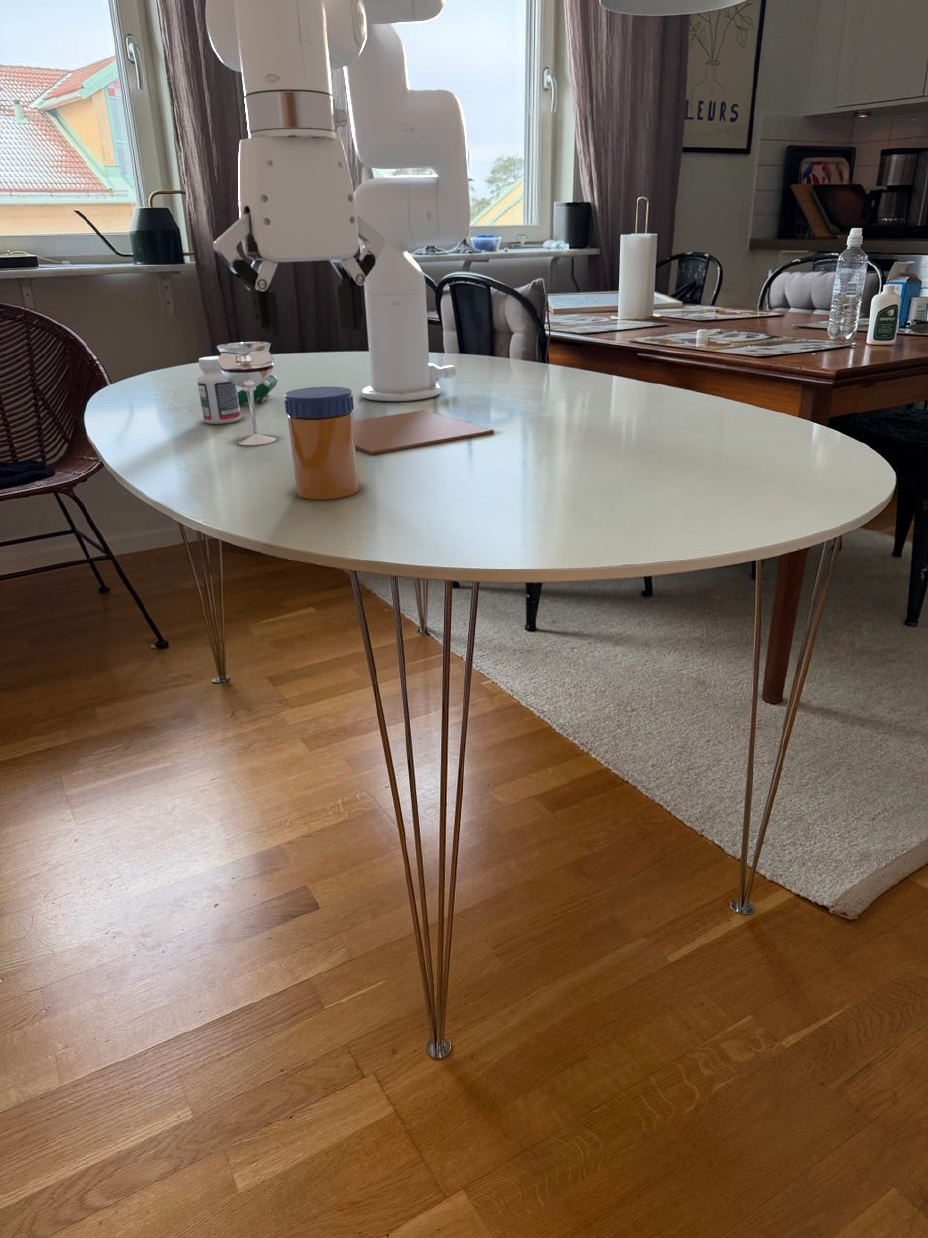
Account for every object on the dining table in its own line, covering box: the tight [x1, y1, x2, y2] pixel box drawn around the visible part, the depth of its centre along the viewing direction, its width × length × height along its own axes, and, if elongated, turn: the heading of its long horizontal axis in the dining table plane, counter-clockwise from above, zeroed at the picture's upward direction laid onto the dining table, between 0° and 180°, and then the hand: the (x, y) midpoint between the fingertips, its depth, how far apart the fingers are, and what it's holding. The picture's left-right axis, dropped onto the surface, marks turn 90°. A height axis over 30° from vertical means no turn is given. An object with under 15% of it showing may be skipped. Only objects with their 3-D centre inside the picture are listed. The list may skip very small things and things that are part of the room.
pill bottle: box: [196, 355, 242, 425], centre depth 122 cm, size 5×5×9 cm
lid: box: [284, 386, 355, 418], centre depth 85 cm, size 7×7×2 cm
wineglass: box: [216, 341, 277, 446], centre depth 109 cm, size 7×7×12 cm
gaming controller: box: [237, 372, 278, 407], centre depth 138 cm, size 9×4×6 cm
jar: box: [287, 410, 360, 501], centre depth 87 cm, size 6×6×10 cm
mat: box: [353, 409, 495, 455], centre depth 114 cm, size 18×18×1 cm
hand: (311, 331), depth 82 cm, fingers open, 7 cm apart
